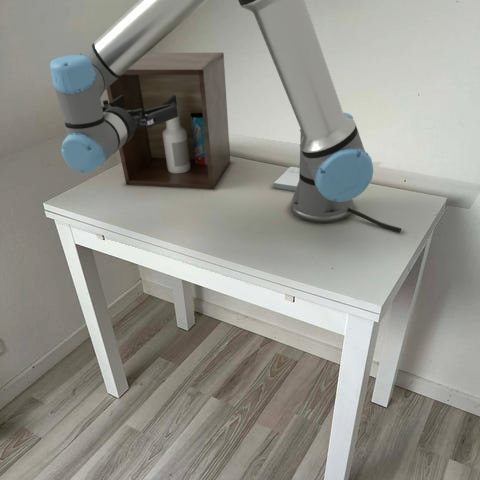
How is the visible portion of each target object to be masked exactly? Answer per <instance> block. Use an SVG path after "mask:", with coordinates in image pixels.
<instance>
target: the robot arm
mask: <svg viewBox="0 0 480 480" xmlns="http://www.w3.org/2000/svg"><path fill="white" fill-rule="evenodd" d="M207 1H208V0H137V2H136V3H134V4H133V5H132V6H131V7H130V8H129V9H128V10H127V11H126V12H125V13H123V15H122V16H121V17H119V19H117V20H116V21H115V22H114V23H113V24H112V25H111V26H110V27H109V28H108V29H107V30H105V31H104V33H102V34H101V35H100V36H99V37H98V38H97V39H96V40H94V42H93V43H92V44H90V45H89V46H88V47H87V48H86V49H85V50H84V51H83V52H81V53H80V54H70V55H64V56H59V57H58V58H54V59H52V60H51V62H50V63H49V69H50V74H51V78H52V79H51V81H52V82H51V83H52V85H53V87H54V91H55V94H56V97H57V100H58V104H59V108H60V112H61V114H62V118H63V122H64V127H65V130H66V134H67V136H66V137H65V139H63V141H62V144H61V149H60V151H61V156H62V158H63V160H64V162H65V163H66V165H67V166H68V167H69V168H71V169H73V170H74V171H75V172H77V173H82V174H88V173H92V172H94V171H95V170H96V169H98V168H99V167H102V166H103V165H104V164H105V163H106V162H107V161H108V159H110V158H111V156H112V155H114V154H115V153H116V152H117V151H119V149H120V148H121V147H122V146H123V145H124V144H126V143H127V142H128V141H129V140H130V139H131V138H132V137H133V135H134V133H135V129H136V128H138V127H141V126H145V125H146V126H147V129H151V128H153V127H154V126H155V125H158V124H160V123H163V122H166V121H168V120H171V119H173V118H176V117H178V110H177V102H176V95H172V96H171V97H170V98H169V99H168V100H166V101H165V102H164V103H163V104H164V105H161V106H158V107H154V108H150V109H146V110H143V109H136V110H127V111H125V110H124V109H123V108H125V107H126V105H125V100H124V95H120V96H119V97H117V98H116V99H114V100H113V101H111V102H110V103H109V99H108V100H107V99H105V100H103V101H102V99H101V98H102V96H103V94H104V93H105V91H107V88H108V87H109V86H110V85H111V84H112V83H114V82H115V81H116V80H117V79H118V78H119V77H120V76H121V75H122V74H123V73H124V72H126V71H127V70H128V69H129V68H130V67H131V66H132V65H134V64H135V63H136V62H137V61H138V60H139V59H140V58H142V57H143V56H144V55H145V54H146V53H150V51H152V50H153V48H154V47H156V46H157V45H158V44H159V43H160V42H162V40H164V39H165V38H166V37H167V36H168V35H170V33H172V32H173V31H174V30H175V29H176V28H177V27H179V26H180V25H181V24H182V23H183V22H185V21H186V19H188V18H190V16H191V15H192V14H193V13H195V12H196V11H198V9H199V8H200V7H201V6H203V5H204V4H205V3H206V2H207ZM237 1H238V3H239V6H240V7H241V8H242V9H244V10H247V11H250V12H251V13H252V14H253V15H254V18H255V21H256V23H257V25H258V27H259V31H260V33H261V36H262V37H263V40H264V42H265V45H266V47H267V50H268V52H269V54H270V57H271V59H272V62H273V65H274V68H275V69H276V73H277V74H278V77H279V79H280V82H281V84H282V86H283V88H284V92H285V94H286V96H287V99H288V102H289V104H290V106H291V109H292V111H293V113H294V116H295V118H296V121H297V123H298V125H299V128H300V129H299V132H300V138H299V139H300V142H299V143H300V144H299V168H300V174H299V182H298V185H297V187H296V190H295V191H294V193H293V196H292V199H291V201H290V210H291V212H292V214H293V215H294V216H295V217H296V218H298V219H300V220H303V221H306V222H310V223H318V224H328V223H334V222H335V223H336V222H340V221H342V220H344V219H346V218H348V217H349V216H350V215H351V214H353V215H356V216H358V217H360V218H361V219H362V218H363V219H364V220H366V221H369V222H370V223H372V224H374V225H376V226H379V227H382V228H385V229H387V230H391V231H395V232H399V233H400V232H402V228H401V227H399V226H394V225H390V224H386V223H385V222H384V223H383V222H382V221H380V220H379V221H378V220H376V219H374V218H372V217H370V216H368V215H366V214H364V213H362V212H360V211H358V210H355V209H354V208H353V207H354V201H353V199H356V198H357V197H359V196H360V195H362V194H363V193H364V192H365V191H366V189H368V187H369V185H370V183H371V182H372V179H373V175H374V164H373V162H372V160H373V159H372V157H371V156H370V155H369V153H368V152H366V149H365V147H364V145H363V142H362V139H361V136H360V133H359V130H358V127H357V123H356V121H355V119H354V116H353V115H352V114H350V113H347V112H344V111H343V108H342V105H341V102H340V99H339V97H338V96H339V95H338V94H337V90H336V88H335V84H334V82H333V79H332V76H331V73H330V70H329V68H328V65H327V62H326V59H325V56H324V53H323V50H322V48H321V44H320V41H319V38H318V35H317V33H316V30H315V26H314V24H313V21H312V18H311V15H310V13H309V9H308V6H307V4H306V1H305V0H237ZM137 113H140V116H139V115H138V114H137Z"/></svg>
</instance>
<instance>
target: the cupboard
mask: <svg viewBox="0 0 480 480" xmlns="http://www.w3.org/2000/svg"><path fill="white" fill-rule="evenodd" d="M224 55H225V54H224V52H147V53H146V54H145V55H144V56H143V57H142V58H140V59H139V60H138V61H137V62H136V63H135V64H134V65H132V66H131V67H130V68H129V69H128V70H127V71H126V72H124V73H123V74H122V75H121V76H120V77H119V78H118V79H117V80H116V81H115V82H114V83H112V84H111V85H110V86H109V87H108V88H107V89H106V92H107V98H108V103H110V102H111V101H113V100H114V99H116V98H117V97H119V96H120V95H124V100H125V105H126V107H125V108H123V109H124V110H125V111H127V110H136V109H143V110H146V109H150V108H154V107H158V106H161V105H164V104H163V103H164V102H165V101H166V100H168V99H169V98H170V97H171V96H172V95H176V102H177V108H178V113H179V117H180V123H181V127H182V128H184V129H186V132H187V140H188V149H189V158H190V170H189V171H187V172H184V173H171V172H169V171H168V169H167V162H166V155H165V148H164V141H163V134H162V133H163V131H164V130H165V129H166V128H167V127H166V122H163V123H160V124H158V125H155V126H154V127H153V128H151V129H147V126H146V125H145V126H141V127H138V128H136V129H135V133H134V135H133V137H132V138H131V139H130V140H129V141H128V142H127V143H126V144H124V145H123V146H122V147H121V148H120V149H118V151H119V156H120V157H119V158H120V161H121V165H122V166H121V167H122V171H123V176H124V181H125V185H126V186H142V187H143V186H144V187H160V188H161V187H163V188H179V189H183V188H184V189H199V190H215V188H216V187H217V185H218V183H219V182H220V181H221V178H222V177H223V176H224V174H225V172H226V171H227V169H228V168H229V166H230V165H231V151H230V150H231V149H230V148H231V147H230V135H229V118H228V104H227V103H228V102H227V101H228V100H227V86H226V70H225V56H224ZM191 113H203V123H204V134H205V145H206V155H207V165H200V164H197V163H196V161H195V152H194V143H193V134H192V124H191V115H190V114H191ZM137 114H138V115H139V116H140V113H137Z"/></svg>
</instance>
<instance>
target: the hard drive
mask: <svg viewBox="0 0 480 480" xmlns="http://www.w3.org/2000/svg"><path fill="white" fill-rule="evenodd" d="M299 174H300V167H297V166H289V167H288V168H287V169H286V170H285V171H284V172H282V174H281V175H280V176H278V178H277V179H276V180H274V182H273V183H272V185H273V186H272V187H273V189H276V190H284V191H288V192H289V191H291V192H295V190H296V187H297V185H298V182H299Z"/></svg>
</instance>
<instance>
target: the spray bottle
mask: <svg viewBox="0 0 480 480" xmlns="http://www.w3.org/2000/svg"><path fill="white" fill-rule="evenodd" d="M177 110H178V108H177ZM166 127H167V128H166V129H165V130H164V131H163V133H162V134H163V141H164V148H165V155H166V162H167V169H168V171H169V172H171V173H184V172H187V171H189V170H190V158H189V149H188V140H187V132H186V129H184V128H182V127H181V123H180V117H179V113H178V117H176V118H173V119H171V120H168V121H166Z"/></svg>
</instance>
